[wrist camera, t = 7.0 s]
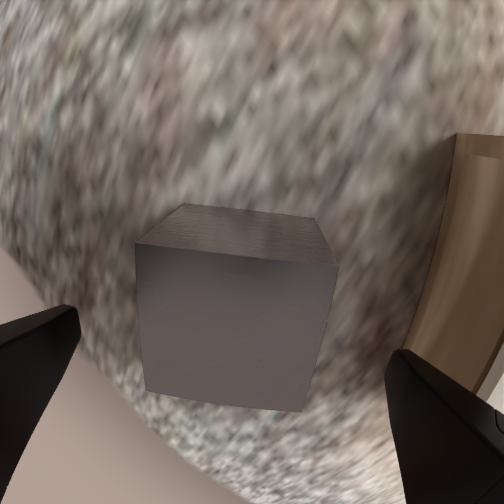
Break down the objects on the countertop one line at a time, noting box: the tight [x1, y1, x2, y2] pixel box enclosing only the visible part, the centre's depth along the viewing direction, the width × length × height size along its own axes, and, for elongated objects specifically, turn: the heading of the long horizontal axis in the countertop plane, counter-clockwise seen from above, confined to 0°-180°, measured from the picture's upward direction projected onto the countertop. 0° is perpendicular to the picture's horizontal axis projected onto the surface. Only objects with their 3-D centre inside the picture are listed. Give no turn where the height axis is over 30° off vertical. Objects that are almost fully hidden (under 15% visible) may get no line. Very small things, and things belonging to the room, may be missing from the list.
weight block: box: [135, 204, 339, 412], centre depth 11 cm, size 5×5×5 cm
